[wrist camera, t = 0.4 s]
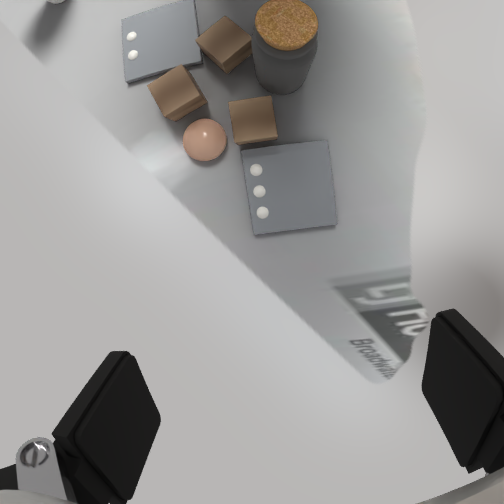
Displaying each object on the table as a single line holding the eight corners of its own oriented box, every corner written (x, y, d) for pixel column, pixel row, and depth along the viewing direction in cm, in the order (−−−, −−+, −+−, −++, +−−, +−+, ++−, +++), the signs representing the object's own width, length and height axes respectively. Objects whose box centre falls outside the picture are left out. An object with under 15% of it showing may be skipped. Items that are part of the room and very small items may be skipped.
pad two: (124, 22, 31) (121, 19, 30) (194, 1, 30) (192, -3, 29) (128, 83, 34) (124, 81, 33) (202, 63, 33) (201, 60, 32)
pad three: (241, 150, 36) (240, 150, 34) (325, 140, 35) (327, 139, 34) (254, 233, 38) (253, 235, 37) (335, 222, 37) (337, 224, 36)
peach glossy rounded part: (183, 125, 35) (179, 123, 34) (223, 116, 35) (221, 115, 33) (189, 164, 37) (186, 164, 35) (230, 157, 36) (228, 156, 35)
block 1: (160, 93, 34) (147, 85, 30) (191, 74, 33) (181, 63, 29) (175, 121, 35) (164, 116, 31) (207, 102, 34) (199, 94, 30)
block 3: (233, 109, 34) (228, 101, 30) (271, 103, 34) (271, 95, 30) (238, 145, 35) (234, 142, 31) (276, 139, 35) (277, 136, 31)
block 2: (202, 52, 32) (194, 40, 28) (229, 30, 31) (225, 15, 27) (227, 74, 33) (221, 63, 29) (254, 51, 32) (253, 38, 28)
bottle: (273, 103, 34) (275, 66, 19) (246, 66, 33) (232, 11, 18) (314, 81, 33) (341, 34, 18) (287, 44, 31) (297, -18, 17)
